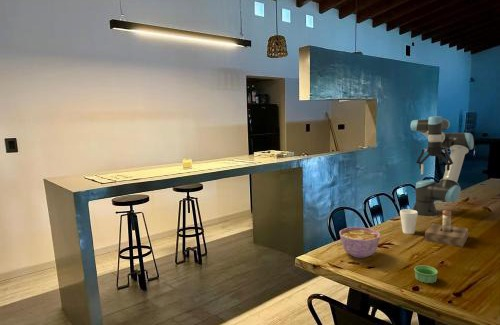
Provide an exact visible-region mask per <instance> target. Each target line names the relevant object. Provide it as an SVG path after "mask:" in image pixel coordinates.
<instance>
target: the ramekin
mask: <svg viewBox="0 0 500 325" xmlns="http://www.w3.org/2000/svg"><path fill="white" fill-rule="evenodd" d="M438 273H439V272H438V270H437V269H436V268H435V267H433V266H430V265H424V264H423V265H416V266H415V267H414V277H415V279H416V281H418V280H419V282H420V281H421V282H420V283H423V282H424V283H423V284H428V283H431V284H435V283H436V282H437V277H438ZM434 282H435V283H434Z"/></svg>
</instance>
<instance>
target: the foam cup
mask: <svg viewBox="0 0 500 325" xmlns="http://www.w3.org/2000/svg"><path fill="white" fill-rule="evenodd" d="M399 215H400V222H401V230H402V233H403V234H406V235H414V234H415V232H416V226H417V220H418V212H417V211H415V210H413V209H408V208H407V209H406V208H404V209H401V210H400V211H399Z"/></svg>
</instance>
